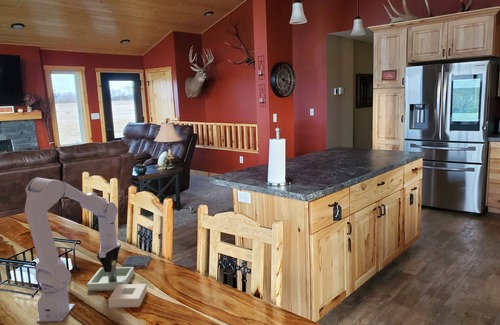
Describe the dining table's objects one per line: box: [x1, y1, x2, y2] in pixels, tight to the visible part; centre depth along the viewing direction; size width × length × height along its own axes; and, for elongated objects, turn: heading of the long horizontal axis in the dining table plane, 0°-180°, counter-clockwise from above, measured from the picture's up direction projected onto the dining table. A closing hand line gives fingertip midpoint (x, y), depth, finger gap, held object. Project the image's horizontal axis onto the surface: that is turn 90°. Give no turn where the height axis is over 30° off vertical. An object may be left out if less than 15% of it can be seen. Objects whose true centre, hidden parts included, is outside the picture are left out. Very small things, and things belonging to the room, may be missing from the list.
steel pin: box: [108, 260, 117, 282], centre depth 145 cm, size 3×3×8 cm
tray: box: [86, 266, 135, 292], centre depth 145 cm, size 13×13×3 cm
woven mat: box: [121, 254, 153, 270], centre depth 161 cm, size 10×11×2 cm
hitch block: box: [107, 283, 148, 309], centre depth 132 cm, size 10×10×3 cm
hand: (110, 267), depth 144 cm, fingers open, 6 cm apart
